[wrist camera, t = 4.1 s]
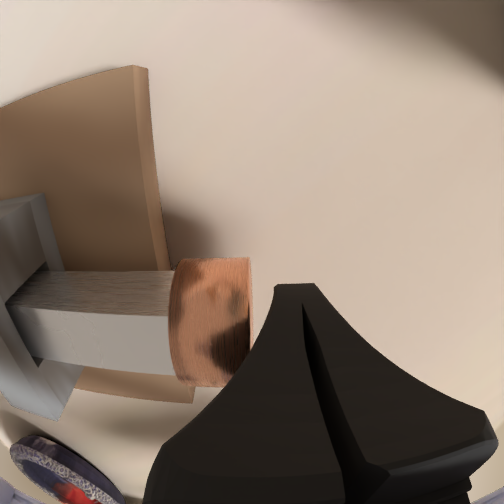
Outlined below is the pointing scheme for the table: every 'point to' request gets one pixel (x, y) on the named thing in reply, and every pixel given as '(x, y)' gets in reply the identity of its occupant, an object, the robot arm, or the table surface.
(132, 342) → the shaft
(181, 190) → the table surface
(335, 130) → the table surface
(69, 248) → the stand
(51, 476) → the dish
